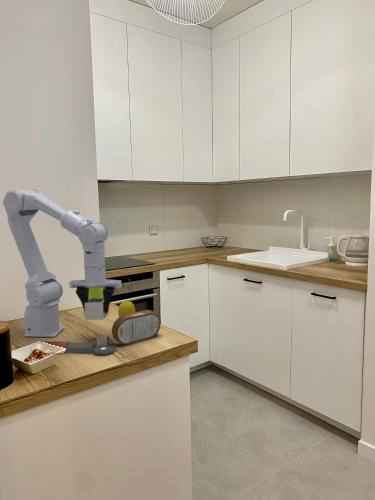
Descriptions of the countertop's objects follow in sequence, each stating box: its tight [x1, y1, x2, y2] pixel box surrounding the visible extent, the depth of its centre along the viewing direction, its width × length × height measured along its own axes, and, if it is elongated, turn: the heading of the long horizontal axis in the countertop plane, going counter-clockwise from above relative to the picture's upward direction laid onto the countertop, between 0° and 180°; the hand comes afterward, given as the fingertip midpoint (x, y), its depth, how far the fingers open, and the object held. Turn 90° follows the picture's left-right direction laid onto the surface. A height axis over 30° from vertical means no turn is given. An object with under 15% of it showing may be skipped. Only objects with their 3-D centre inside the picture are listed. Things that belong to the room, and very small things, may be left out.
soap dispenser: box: [88, 288, 104, 299], centre depth 129 cm, size 6×7×20 cm
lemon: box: [117, 299, 136, 318], centre depth 121 cm, size 6×6×8 cm
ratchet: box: [40, 334, 116, 357], centre depth 100 cm, size 21×6×4 cm, turn 88°
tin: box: [111, 309, 162, 345], centre depth 107 cm, size 15×3×8 cm, turn 126°
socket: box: [84, 297, 109, 321], centre depth 106 cm, size 5×5×5 cm
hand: (96, 312), depth 106 cm, fingers closed on socket, 5 cm apart
